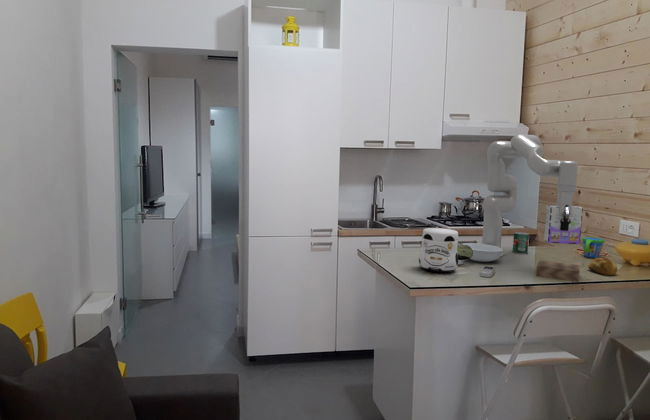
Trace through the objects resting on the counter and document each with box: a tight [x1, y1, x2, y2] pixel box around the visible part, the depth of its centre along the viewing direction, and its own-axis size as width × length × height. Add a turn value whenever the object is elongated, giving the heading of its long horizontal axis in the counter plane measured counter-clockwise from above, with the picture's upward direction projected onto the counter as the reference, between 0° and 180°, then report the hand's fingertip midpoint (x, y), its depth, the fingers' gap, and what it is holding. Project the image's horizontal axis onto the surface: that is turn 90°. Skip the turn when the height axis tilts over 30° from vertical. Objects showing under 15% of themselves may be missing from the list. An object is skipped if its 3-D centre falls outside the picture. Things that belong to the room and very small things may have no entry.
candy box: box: [543, 205, 584, 245], centre depth 226 cm, size 14×6×16 cm, turn 84°
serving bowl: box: [462, 242, 503, 263], centre depth 256 cm, size 21×21×7 cm
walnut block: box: [535, 260, 581, 283], centre depth 229 cm, size 17×14×5 cm
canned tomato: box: [511, 231, 530, 255], centre depth 279 cm, size 8×8×11 cm
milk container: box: [418, 227, 459, 273], centre depth 229 cm, size 17×17×18 cm
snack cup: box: [581, 236, 605, 259], centre depth 276 cm, size 16×11×10 cm
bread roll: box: [587, 257, 618, 276], centre depth 238 cm, size 13×10×8 cm
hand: (562, 229), depth 226 cm, fingers closed on candy box, 6 cm apart
